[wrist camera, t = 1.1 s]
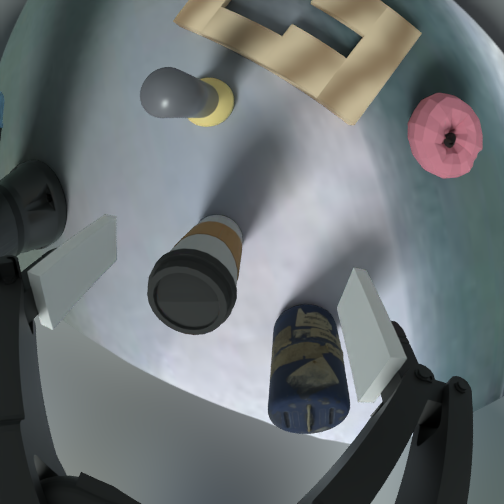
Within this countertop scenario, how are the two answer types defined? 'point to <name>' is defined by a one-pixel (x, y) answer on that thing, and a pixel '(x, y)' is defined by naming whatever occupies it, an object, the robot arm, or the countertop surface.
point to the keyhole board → (315, 49)
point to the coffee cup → (198, 277)
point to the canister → (307, 372)
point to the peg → (186, 97)
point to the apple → (445, 135)
